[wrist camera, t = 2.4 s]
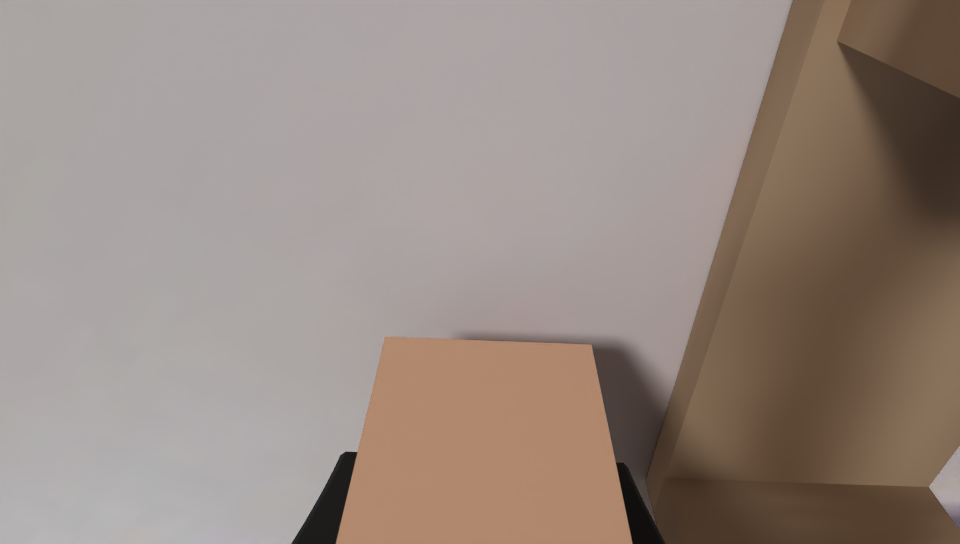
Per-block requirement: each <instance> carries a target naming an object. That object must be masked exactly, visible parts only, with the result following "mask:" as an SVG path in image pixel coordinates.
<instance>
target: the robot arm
mask: <svg viewBox="0 0 960 544" xmlns="http://www.w3.org/2000/svg"><path fill="white" fill-rule="evenodd" d="M357 453H358V452H345V453H343V454H342V455H340V457H339V460H338V462H337V464H336V466H335V468H334V470H333V472H332V474H331V476H330V478H329V480H328V482H327V484H326V486H325V487H324V489H323V491H322V493H321V495H320V497H319V498H318V500H317V502H316V504H315V505H314V507H313V509H312V511H311V512H310V514H309V516H308V517H307V519H306V521H305V523H304V524H303V526H302V527H301V529H300V531H299V532H298V534H297V535H296V537H295V539H294V540H293V542H292V544H336V541H337V536H338V532H339V528H340V524H341V520H342V516H343V511H344V507H345V503H346V499H347V495H348V490H349V486H350V482H351V478H352V474H353V469H354V465H355V461H356V457H357ZM616 466H617V471H618V476H619V481H620V486H621V490H622V495H623V500H624V505H625V510H626V515H627V520H628V524H629V529H630V534H631V539H632V544H665V542H664V540H663V538H662V536H661V534H660V533H659V531H658V529H657V527H656V525H655V523H654V521H653V519H652V517H651V515H650V513H649V511H648V510H647V508H646V506H645V504H644V502H643V500H642V497H641V495H640V493H639V491H638V489H637V487H636V485H635V483H634V481H633V478H632V476H631V474H630V472H629V469H628V467H627V466H626V465H625V464H624V463H616Z"/></svg>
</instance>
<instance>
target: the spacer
mask: <svg viewBox="0 0 960 544" xmlns="http://www.w3.org/2000/svg"><path fill="white" fill-rule="evenodd" d="M336 544H632V539H631V534H630V529H629V524H628V520H627V515H626V510H625V505H624V500H623V495H622V490H621V486H620V481H619V476H618V471H617V466H616V461H615V457H614V452H613V447H612V442H611V437H610V432H609V427H608V423H607V418H606V413H605V408H604V403H603V398H602V394H601V389H600V384H599V379H598V374H597V369H596V364H595V360H594V355H593V350H592V345H589V344H563V343H537V342H511V341H485V340H459V339H433V338H407V337H385V340H384V344H383V348H382V352H381V356H380V361H379V365H378V369H377V373H376V377H375V381H374V386H373V390H372V394H371V398H370V402H369V407H368V411H367V415H366V419H365V423H364V428H363V432H362V436H361V440H360V444H359V449H358V453H357V457H356V461H355V465H354V469H353V474H352V478H351V482H350V486H349V490H348V495H347V499H346V503H345V507H344V511H343V516H342V520H341V524H340V528H339V532H338V536H337V541H336Z"/></svg>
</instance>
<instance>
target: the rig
mask: <svg viewBox="0 0 960 544" xmlns="http://www.w3.org/2000/svg"><path fill="white" fill-rule="evenodd" d="M959 446H960V0H793V2H792V5H791V8H790V12H789V15H788V18H787V21H786V25H785V28H784V31H783V34H782V38H781V41H780V44H779V48H778V51H777V54H776V57H775V61H774V64H773V67H772V70H771V74H770V77H769V80H768V83H767V87H766V90H765V93H764V96H763V100H762V103H761V106H760V109H759V113H758V116H757V119H756V122H755V126H754V129H753V132H752V135H751V139H750V142H749V145H748V149H747V152H746V155H745V158H744V162H743V165H742V168H741V171H740V175H739V178H738V181H737V184H736V188H735V191H734V194H733V197H732V201H731V204H730V207H729V210H728V214H727V217H726V220H725V223H724V227H723V230H722V233H721V237H720V240H719V243H718V246H717V250H716V253H715V256H714V259H713V263H712V266H711V269H710V272H709V276H708V279H707V282H706V285H705V289H704V292H703V295H702V298H701V302H700V305H699V308H698V311H697V315H696V318H695V321H694V324H693V328H692V331H691V334H690V338H689V341H688V344H687V347H686V351H685V354H684V357H683V360H682V364H681V367H680V370H679V373H678V377H677V380H676V383H675V386H674V390H673V393H672V396H671V399H670V403H669V406H668V409H667V412H666V416H665V419H664V422H663V425H662V429H661V432H660V435H659V439H658V442H657V445H656V448H655V452H654V455H653V458H652V461H651V465H650V468H649V471H648V474H647V478H646V481H645V482H646V486H647V490H648V494H649V498H650V501H651V505H652V509H653V513H654V517H655V521H656V525H657V529H658V531H659V533H660V534H661V536H662V538H663V540H664V542H665V544H960V530H959V529H958V527H957V526H956V525H955V523H954V522H953V520H952V519H951V518H950V516H949V515H948V513H947V512H946V511H945V509H944V508H943V506H942V505H941V504H940V502H939V501H938V500H937V498H936V497H935V495H934V494H933V493H932V491H931V490H930V488H929V486H930V484H931V483H932V482H933V480H934V479H935V478H936V476H937V475H938V474H939V472H940V471H941V470H942V468H943V467H944V466H945V464H946V463H947V462H948V460H949V459H950V458H951V456H952V455H953V454H954V452H955V451H956V450H957V448H958V447H959Z"/></svg>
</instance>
